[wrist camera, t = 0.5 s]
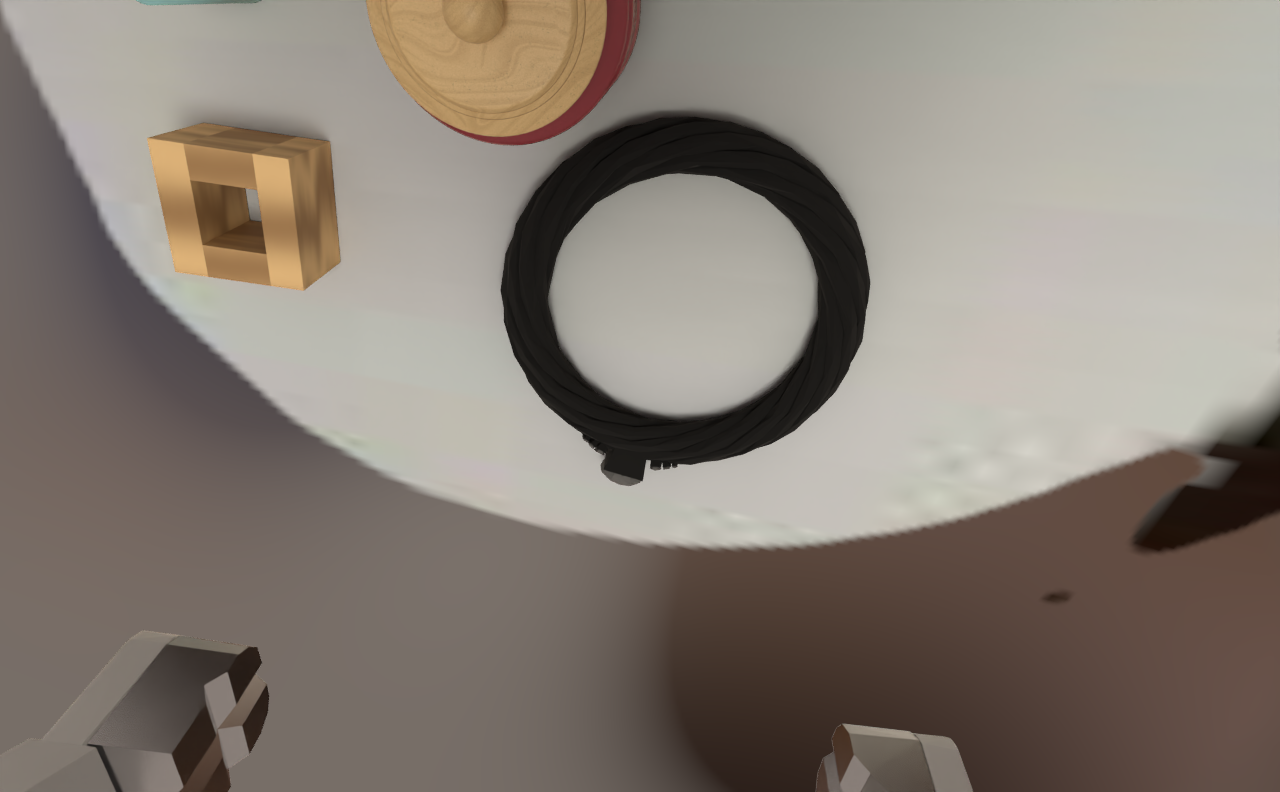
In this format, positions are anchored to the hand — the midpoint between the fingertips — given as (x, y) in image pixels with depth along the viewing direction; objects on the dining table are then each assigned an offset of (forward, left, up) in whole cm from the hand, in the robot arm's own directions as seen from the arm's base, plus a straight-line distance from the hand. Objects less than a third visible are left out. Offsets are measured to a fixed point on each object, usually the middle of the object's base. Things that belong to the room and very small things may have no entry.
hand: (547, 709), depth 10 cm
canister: (-7, -9, -45) cm, 46 cm away
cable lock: (+13, +3, -45) cm, 47 cm away
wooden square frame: (+8, -28, -45) cm, 53 cm away
